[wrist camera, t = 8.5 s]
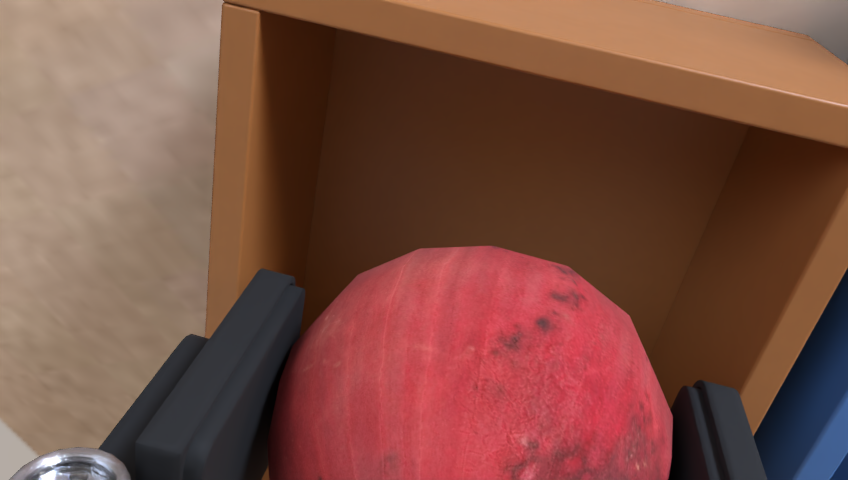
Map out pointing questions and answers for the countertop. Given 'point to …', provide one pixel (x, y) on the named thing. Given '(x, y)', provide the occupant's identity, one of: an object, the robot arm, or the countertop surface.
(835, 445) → the blue bin
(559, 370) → the onion
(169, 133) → the countertop surface
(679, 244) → the brown bin
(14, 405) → the countertop surface
